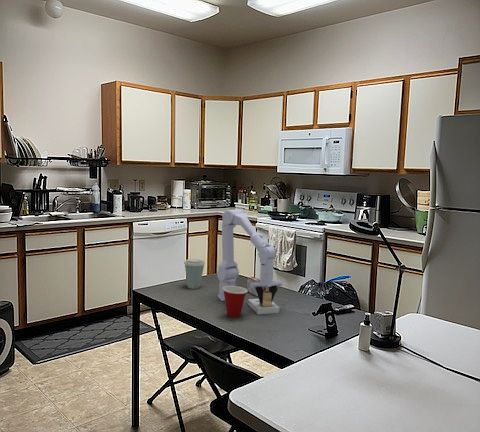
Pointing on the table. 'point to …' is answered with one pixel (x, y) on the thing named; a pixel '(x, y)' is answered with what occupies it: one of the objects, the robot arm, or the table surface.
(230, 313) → the plastic cup
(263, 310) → the socket block
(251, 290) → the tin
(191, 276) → the disposable coffee cup
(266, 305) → the square peg
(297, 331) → the table surface
